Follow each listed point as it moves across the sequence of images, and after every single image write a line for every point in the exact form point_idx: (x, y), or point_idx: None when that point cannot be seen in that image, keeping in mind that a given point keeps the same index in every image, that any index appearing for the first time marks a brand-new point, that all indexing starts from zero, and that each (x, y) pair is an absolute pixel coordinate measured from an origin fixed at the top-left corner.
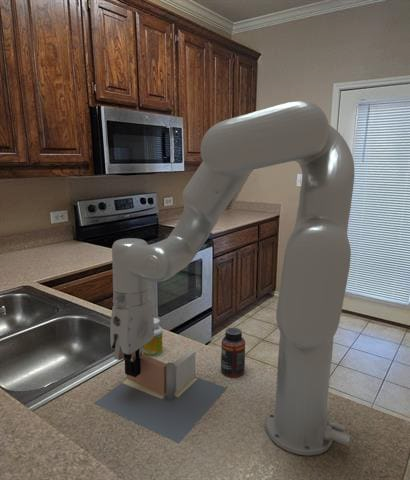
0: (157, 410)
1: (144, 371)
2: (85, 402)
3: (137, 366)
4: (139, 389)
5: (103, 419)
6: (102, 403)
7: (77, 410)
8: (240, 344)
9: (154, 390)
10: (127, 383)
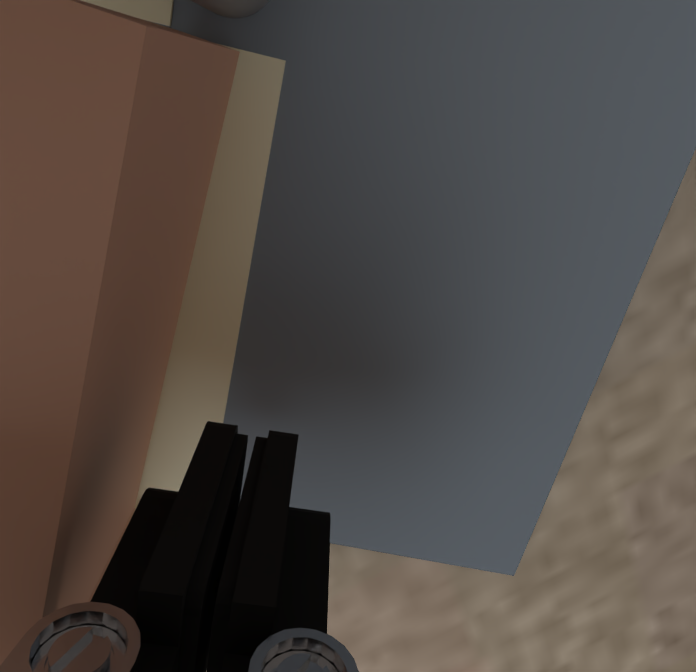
0: (479, 20)
1: (125, 399)
2: (498, 619)
3: (252, 516)
4: (233, 346)
5: (653, 427)
6: (503, 521)
7: (589, 618)
8: None
9: None
10: None
